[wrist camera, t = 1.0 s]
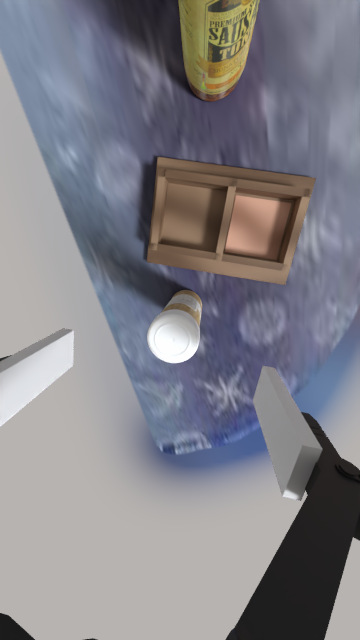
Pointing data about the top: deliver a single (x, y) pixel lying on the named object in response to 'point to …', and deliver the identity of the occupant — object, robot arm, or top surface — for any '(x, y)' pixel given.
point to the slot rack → (227, 219)
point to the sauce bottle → (215, 43)
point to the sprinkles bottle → (176, 328)
